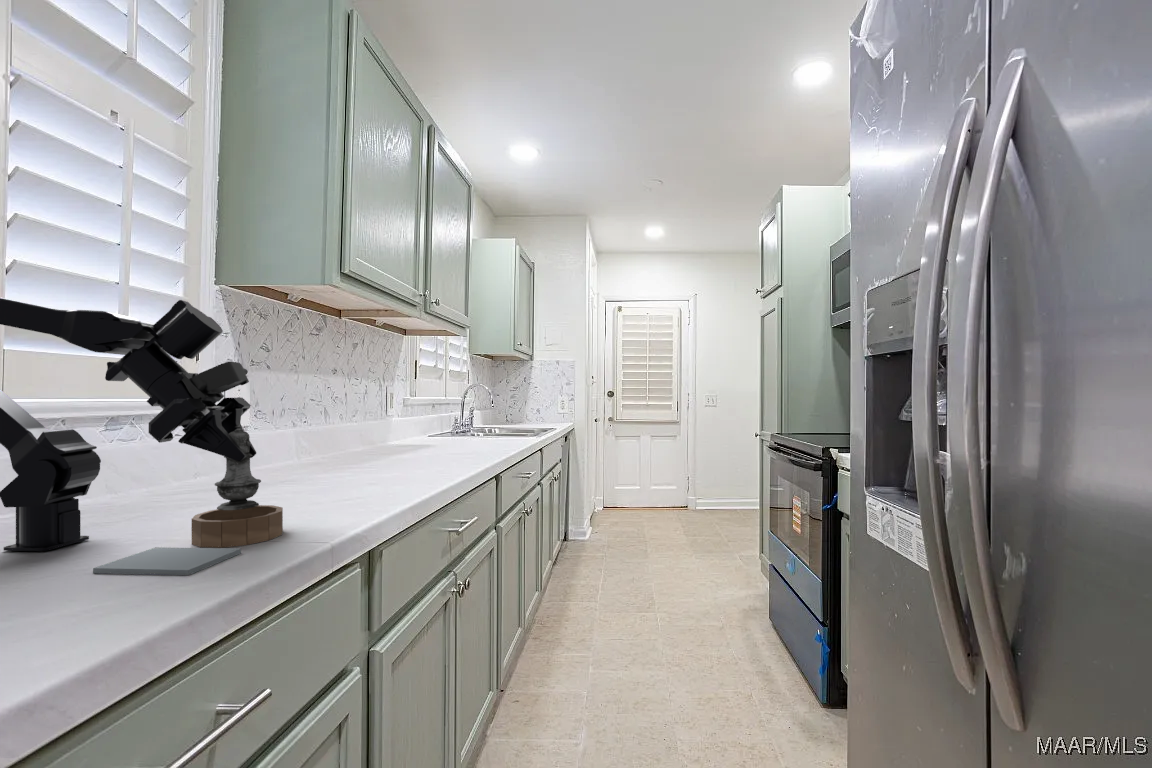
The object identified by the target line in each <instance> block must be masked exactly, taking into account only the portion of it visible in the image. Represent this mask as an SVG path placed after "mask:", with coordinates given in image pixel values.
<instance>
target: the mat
mask: <svg viewBox="0 0 1152 768" xmlns="http://www.w3.org/2000/svg"><path fill="white" fill-rule="evenodd" d="M240 554H242V548H233V547H223V548H210V547H171V546H169V547H167V546H166V547H165V546H164V547H162V546H161V547H159V546H156V547H153V548H150V549H146V550H143V551H140V552H138V553H134V554H132V555H128V556H125V557H122V558H119V559H116V560H114V561H110V562H108V563H105V564H101V565H99V566H95V567H93V568H92V574H107V575H108V574H109V575H111V574H112V575H115V574H116V575H158V576H159V575H161V576H163V575H164V576H165V575H166V576H190V575H192V574H195V573H197V572H199V571H202V570H204V569H207V568H209V567H211V566H214V565H216V564H219V563H221V562H223V561H227V560H228V559H231V558H233V557H235V556H237V555H240Z"/></svg>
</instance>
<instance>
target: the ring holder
mask: <svg viewBox="0 0 1152 768" xmlns="http://www.w3.org/2000/svg"><path fill="white" fill-rule="evenodd" d="M283 512H284V509H283V507H282V506H277V505H267V504H264V505H263V504H259V505H258V506H256V507H253V508H248V509H240V510H218V509H217V508H216V509H212V510H208V511H204V512H200V513H197V514H195V515H194V516H192V518H191V545H193V546H196V547H197V548H233V547H240V546H241V547H242V546H249V545H253V544H257V543H263V542H267V541H271V540H273V539H275V538H278V537H280V536H282V535H283V531H284V526H283V524H284V523H283V522H284V520H283V517H284V516H283V514H284V513H283Z"/></svg>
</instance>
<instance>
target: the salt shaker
mask: <svg viewBox="0 0 1152 768" xmlns="http://www.w3.org/2000/svg"><path fill="white" fill-rule="evenodd" d="M236 428H237V429H236V430H235V431H233V432H231V433H229V435H230V436H231V437H232V439H233V440H234V441H235V442H236V444H237V445H238V446H239V447H240V448H241V450H242V451H243V452H244V454H245V458H244V459H243V460H241V461H237V460H234V459H231V458H228V457H225V456H223V458H225V460H226V461H225V462H226V463H225V465H226V467H225V474H224V477H223V478H222V479H221V480H220V481H216V482H215V483H213V485H214V486H215V487H216V492H217V493H218V495H219V496H220V497H221V499H223V500H226V501H227V500H228V501H227V502H222V503H220V505H218V506H217V507H216V510H217V509H218V510H240V509H248V508H253V507H256V506H258V505H260V503H259V502H257V501H255V500H249V499H251V498H253V497H254V496H255V495H256V493H257V492H258V489H259V487H260V485H259V484H260V483H261V482H262V480H261V479H259V478H256V477H254V476H253V474H252V471H251V458H250V457H251V456H252V454H250V453H249V440H250V434H249V433H248V432H247V431H245V430H244V429H243V430H244V431H243V430H240V425H239V424H238V425H237V427H236Z"/></svg>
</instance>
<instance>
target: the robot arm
mask: <svg viewBox="0 0 1152 768" xmlns="http://www.w3.org/2000/svg"><path fill="white" fill-rule="evenodd" d="M0 325H2V326H6V327H12V328H16V329H21V330H27V331H31V332H36V333H42V334H46V335H51V336H54V337H56V338H59V339H62V340H64V341H66V342H67V343H69V344H71V345H74V346H77V347H80V348H82V349H85V350H88V351H91V352H94V353H99V354H100V353H102V354H110V355H111V354H112V355H122V357H121V358H120V359H119V360H117V361H115V362H114V361H107V363H106V366H107V367H106V368H107V369H106V372H105V377H104V379H105V381H107V382H124V381H125V382H126V380H127V379H129V380H131V382H133V383H134V384H135V385H136V386H137V387H138V388H139V389H141V390H142V391H143V393H145V394H146V395H147V396H148V397H149V398H148V399H147V400H146V402H147V404H148V405H150V406H151V407H159V408H161V409H162V410H161V411H160V412H159V413H158V414H156V415H155V417H153V418H152V419H151V420H150V421H149V422H148V434H149V435H150V436H151V437H152V438H153V439H154V440H155V441H157V442H158V443H159V444H160V443H167V442H171V441H172V440H173V439H174V434H173V432H174V431H175V430H176V429H177V428H178V427H182V430H181V431H182V432H183V433H184V435H182V436H181V438H179V439H178V443H179V444H185V445H188V446H191V447H195V448H197V449H200V450H204V451H207V452H211V453H213V454H217V455H218V456H219V455H220V456H223V457H224V456H225V457H228V458H231V459H234V460H237V461H241V460H243V459H244V458H245V454H244V452H243V451H242V450H241V448H240V447H239V446H238V445H237V444H236V442H235V441H234V440H233V439H232V437H231V436H230V435H229V433H231V432H233V431H235V430H236V429H237V428H236V427H237V425H238V424H239V425H240V430H243V431H245V430H244V428H243V426H242V423H241V419H242V416H243V415H244V414H245V413H246V412H247V411H248V410H249V409H250V408H251V406H252V405H251V404H250V403H249V402H248V401H247V400H246V399H245V398H243V397H225V395H224V394H223V393H225V392H226V391H229V390H232V389H233V388H234V389H235V388H236V387H238V386H244V385H247V384H248V383H249V382H250V380H249V378H248V377H247V374H248V369H247V368H245V367H243V365H242V363H241V362H239V361H238V362H237V361H227V362H223V363H220V364H217V365H216V366H214V367H211V368H208V369H206V370H204V371H202V372H199V373H196V372H195V373H194V372H188V370H186V369H185V368H184V367H183V366H181V365H180V364H179V362H178V361H176V360H175V359H177V360H182V359H183V358H187V359H190V360H193V359H195V358H196V357H197V356H198V355H199V354H200V353H201V352H203V350H204V349H206V348H207V347H208V346H209V345H210V344H211V343H212V342H213V341H215V340H216V339H217V338H218V337H219V336H220V335H221V334H222V333H223V332H224V331H223V328H222V327H221V326H220V324H219V323H218V322H216V321H215V319H213V318H212V317H211V316H208V315H207V314H205V313H204V312H202V311H201V310H200V309H198V308H196V307H194V306H193V305H192V304H191V303H190V302H188V301H186V300H182V299H179V300H178V301H176V302H175V303H174V304H173V305H172V307H171V308H170V309H169V310H168V312H167V313H165V314H164V315H163V316H162V317H161V318H159V320H157V321H156V322H155V323H154V324H151V323H146V322H142V321H141V320H139V319H138V318H135V317H132V316H128V315H124V314H119V313H115V312H110V311H104V310H92V309H91V310H87V309H86V310H85V309H58V308H57V309H56V308H51V307H48V306H42V305H37V304H33V303H27V302H24V301H18V300H14V299H13V300H12V299H10V298H9V299H8V298H4V297H0ZM174 358H175V359H174ZM216 403H217V404H216ZM0 445H1V446H2V447H3V448H5V449H6V450H7V452H8V454H9V457H10V463H11V467H12V470H13V471H14V472H15V474H16V475H17V476H16V477H15V478H13V480H12V481H10V482H9V483H8V484H7V485H6V486H4V487H3V488H2V490H0V500H1V503H2V505H3V507H4V508H15V543H14V544H10V545H6V546H3V551H9V552H10V551H11V552H18V551H19V552H47V551H50V550H55V549H58V548H63V547H67V546H70V545H72V544H75V543H80V542H83V541H84V542H85V541H87V540H89V539H90V535H81V510H80V509H79V506H80V505H79V504H80V502H79V498H76V497H81V496H82V497H83V496H86V495H88V492H89V489H90V486H91V485H92V482H93V481H95V480H96V478H97V477H98V476H99V473H100V471H101V462H102V459H101V458H100V456H99V455H98V454H97V452H96V451H95V450H96V449H97V447H98V446H96V445H93V444H90V442H87V440H86V439H84V438H83V436H82V435H81V434H80V433H79V432H78V431H77V430H75V429H73V428H72V429H62V430H61V429H60V430H51V429H49V428H47V427H46V426H44V425H43V424H42V423H41V422H39V420H37V419H36V418H35V417H34V416H32V415H31V414H30V413H28V411H27V410H25V409H24V407H22V406H21V405H20V404H19V403H17V402H16V401H15V400H14V399H13V398H12V397H10V396H9V395H8V394H6V393H5V392H4V391H3V390H2V389H1V388H0ZM249 453H250V454H252V456H251V457H250V459H253V457H255V456H256V455H257V450H256V449H255V447H254V445H253V444H252V442H251V439H249Z"/></svg>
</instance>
